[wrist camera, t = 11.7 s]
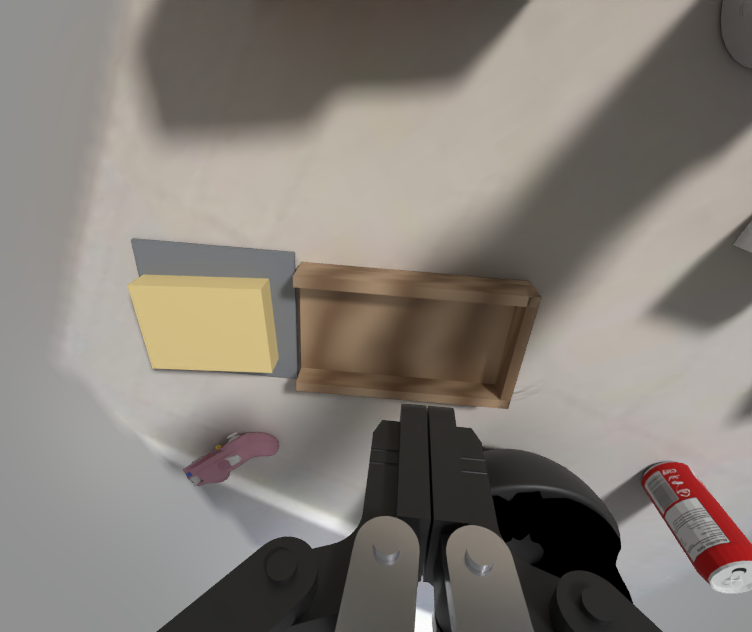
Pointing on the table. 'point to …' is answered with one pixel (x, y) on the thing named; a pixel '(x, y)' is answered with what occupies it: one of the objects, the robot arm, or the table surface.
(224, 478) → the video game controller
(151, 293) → the cover plate
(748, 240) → the grey gabled house block
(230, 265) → the charcoal mat
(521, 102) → the table surface
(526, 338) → the walnut box
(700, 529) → the soda can
